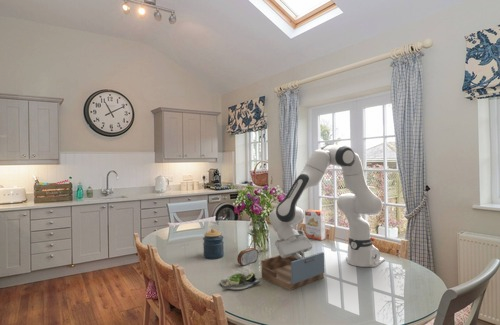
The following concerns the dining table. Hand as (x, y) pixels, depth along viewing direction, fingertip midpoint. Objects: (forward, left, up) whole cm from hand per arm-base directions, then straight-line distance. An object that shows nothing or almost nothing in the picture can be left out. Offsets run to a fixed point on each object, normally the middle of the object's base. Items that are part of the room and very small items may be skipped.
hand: (303, 261), depth 152 cm
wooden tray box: (0, -8, -10) cm, 13 cm away
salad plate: (+24, -20, -11) cm, 33 cm away
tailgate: (0, +3, -7) cm, 8 cm away
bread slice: (+4, -40, -11) cm, 41 cm away
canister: (+12, -66, -11) cm, 68 cm away
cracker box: (-67, -51, -11) cm, 85 cm away
